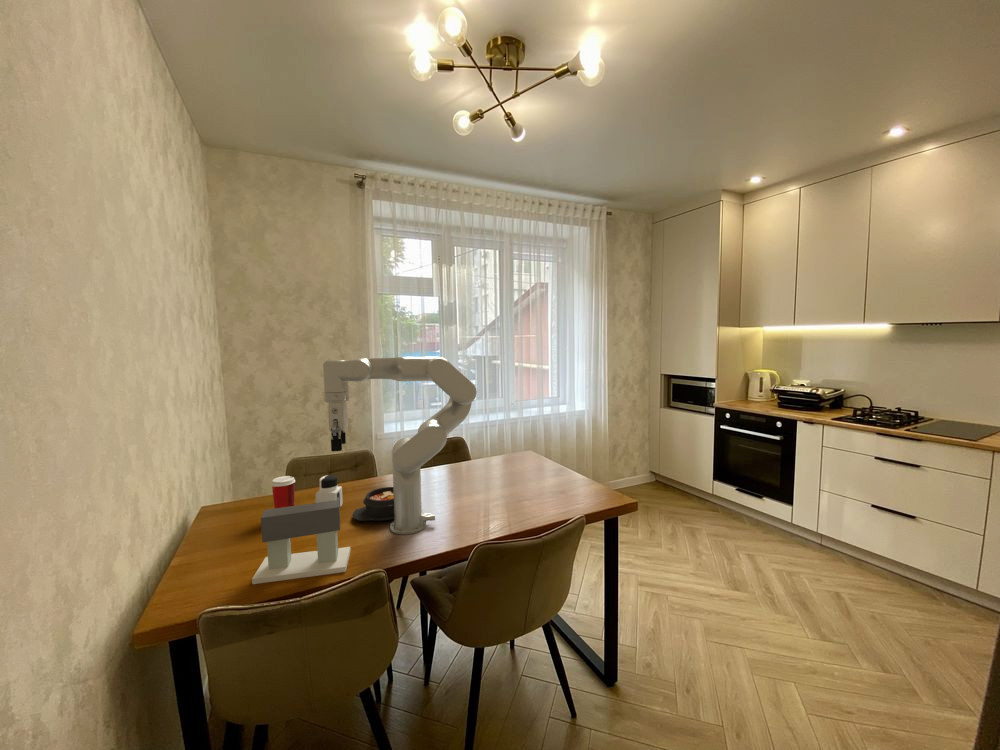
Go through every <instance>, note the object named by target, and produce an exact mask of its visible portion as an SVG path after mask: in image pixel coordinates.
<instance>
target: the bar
mask: <svg viewBox="0 0 1000 750" xmlns="http://www.w3.org/2000/svg"><path fill="white" fill-rule="evenodd" d="M340 509H341V507H340V506H339V500H335V501H327V502H320V503H316V502H314V503H306V504H297V505H294V506H290V507H283V508H275V507H274V508H270V509H264V511H263V512H262V515H261V517H260V526H261V528H260V529H261V541H262V542H261V543H267V542H270V541H276V540H282V539H289V538H290V539H295V538H299V537H300V538H301V537H306V536H312V535H317V534H320V533H326V532H333V531H337V532H339V531H341V510H340Z"/></svg>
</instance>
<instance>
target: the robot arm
mask: <svg viewBox="0 0 1000 750" xmlns="http://www.w3.org/2000/svg"><path fill="white" fill-rule="evenodd" d="M322 373H323V375H322V376H323V394H324V395H323V396H324V403H328V404H327V409H328V415H327V416H328V428H329V432H330V446H331V447H330V448H331V450H330V451H331V452H342V451H343V445H345V444H346V442H347V437H346V431H347V430H348V427H349V418H348V406H347V405H348V404H347V402H349V400H350V399H349V397H350V396H349V382H355V383H356V382H357V383H358V382H359V383H360V382H365V381H366V380H392V381H396V382H402V383H403V382H405V383H406V382H433V383H434V384H435V385H436V386H438V388H439V389H441V390H442V391H443V392H444V393H445V394H446V395H447V396H449V399H448V401H447V403H446V404H445V405H444V406H443V407H442V408H440V409H439V410H438V411H437V412H436V413H435V414H433V415H432V416H430V418H428V419H427V420H426V421H424V422H423V423H421V424H420V425H419V426H418V430H417V433H416V434H415V435H413V436H412V437H404V438H401V439H398V440H397V441H396V442H395V443H394V445H393V447H392V451H391V463H392V484H393V485H392V487H393V495H394V519H393V521H392V522H391V523H390V525H389V529H390V531H391V533H394V534H396V535H397V534H398V535H412V534H416V533H419V532H421V531H423V530H424V529H425V528H426V527H427V522H429V521H431V522H432V521H436V515H435V514H432V513H430V512H428V513H424V512H423V509H422V474H421V473H422V472H421V471H422V470H421V467H422V466H424V465H425V464H426V463H427V462H428V461H430V460H431V459H432V458H434V457H435V456H436V455H438V453H440V452H441V450H443V448H444V447H445V446H446V444H447V440H448V436H449V434H450V433H452V432H453V431H455V429H456V428H457V427H458V426H460V425H461V424H462V423H463V422H464V421H465V419H466V418H467V416H468V415H469V413H470V411H471V409H472V408H471V407H472V405H473V404H472V403H473V402H474V401H475V399H476V397H477V388H476V386H475V384H474V383H473V382H472V381H471V380H470V379H469V378H467V377H466V376H465V375H464V374H463V373H461V372H460V370H458V369H457V368H456V367H455V365H453V364H452V363H451V362H450V361H449V360H448V359H446V358H445V357H442V356H396V357H378V358H377V357H373V358H372V357H371V358H370V357H368V358H366V357H359V358H356V359H351V360H344V359H329V360H325V361H323V363H322Z"/></svg>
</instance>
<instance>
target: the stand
mask: <svg viewBox="0 0 1000 750" xmlns="http://www.w3.org/2000/svg"><path fill="white" fill-rule="evenodd" d="M338 535H339V534H338V531H333V532H326V533H320V534H316V548H317V550H313V551H305V552H295V553H292V547H291V546H292V545H291V538H289V539H282V540H276V541H270V542H266V546H267V547H266V548H267V556H265V557H264V559H263V561H262V563H261V564H260V565H259V567H258V568H257V570H256V572H255V574H254V575H253V576H252V578H251V584H252V585H257V584H264V583H265V584H266V583H271V582H280V581H288V580H295V579H301V578H302V579H303V578H310V577H317V576H325V575H333V574H339V573H345V572H347V569H348V568H347V567H348V564H349V560H350V555H351V552H352V551H351V546H347V547H345V546H344V547H339V539H338Z"/></svg>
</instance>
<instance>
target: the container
mask: <svg viewBox="0 0 1000 750" xmlns="http://www.w3.org/2000/svg"><path fill="white" fill-rule="evenodd" d="M314 495H315V503H320V502H327V501H335V500H339V506H340V508H341V507H342V506H343V505H342V504H344V502H343V486H341V485H340V486H339V485H338V476H337V475H333V474H328V475H324V476H321V477H320V478H319V489H318V491H317V492H316V493H315V494H314Z"/></svg>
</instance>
